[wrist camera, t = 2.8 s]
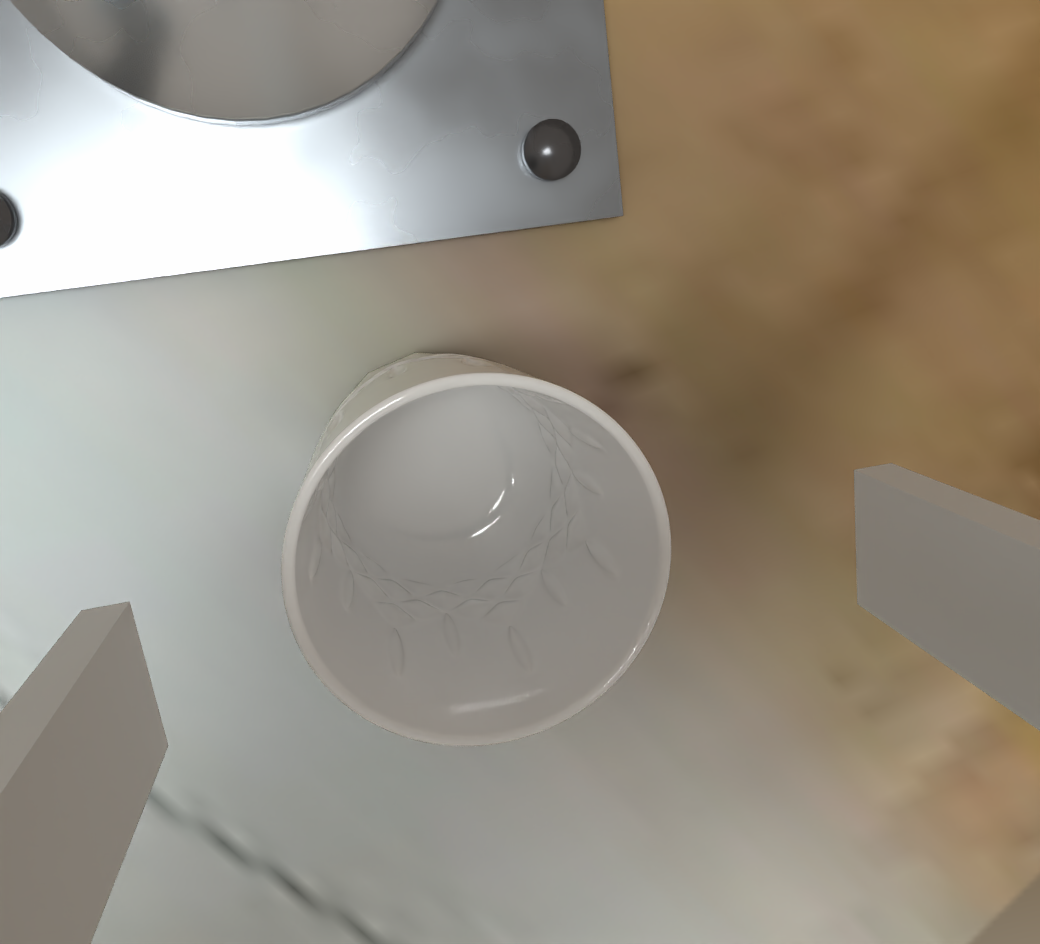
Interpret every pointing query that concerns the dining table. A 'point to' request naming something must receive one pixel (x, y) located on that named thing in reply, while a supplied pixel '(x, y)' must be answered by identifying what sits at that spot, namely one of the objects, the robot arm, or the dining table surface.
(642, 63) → the dining table surface
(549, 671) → the white cup
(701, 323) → the dining table surface
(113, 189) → the panel
